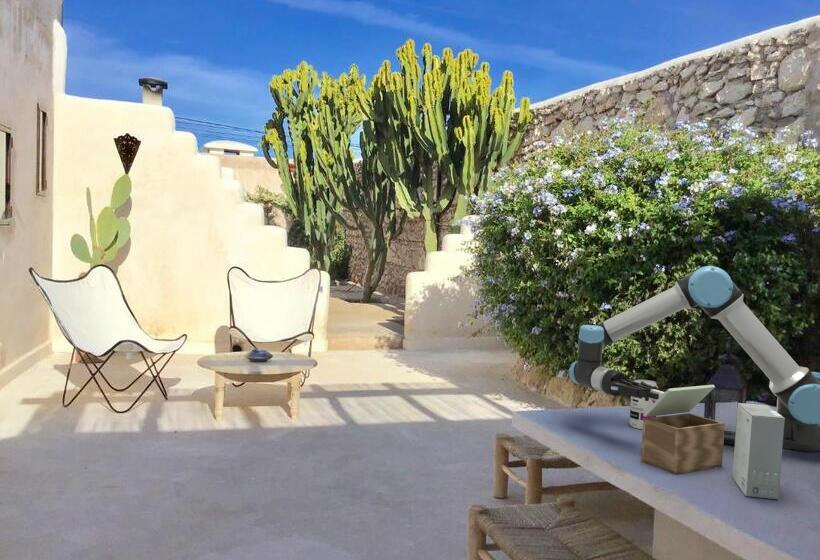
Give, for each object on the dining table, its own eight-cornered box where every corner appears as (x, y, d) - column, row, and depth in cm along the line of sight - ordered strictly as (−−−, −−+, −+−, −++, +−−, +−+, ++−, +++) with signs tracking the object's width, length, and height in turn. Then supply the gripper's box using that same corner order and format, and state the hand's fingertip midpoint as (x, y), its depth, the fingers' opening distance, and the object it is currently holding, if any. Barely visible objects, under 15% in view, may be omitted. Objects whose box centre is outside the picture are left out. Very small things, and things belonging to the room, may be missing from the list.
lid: (689, 412, 213) (687, 409, 213) (715, 386, 205) (713, 384, 206) (644, 417, 204) (643, 414, 205) (670, 391, 197) (668, 388, 197)
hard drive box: (779, 500, 178) (785, 418, 177) (745, 497, 179) (751, 415, 178) (762, 480, 193) (768, 404, 192) (731, 477, 195) (736, 401, 193)
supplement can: (658, 426, 246) (661, 381, 245) (651, 431, 239) (654, 385, 238) (633, 422, 250) (636, 378, 249) (626, 427, 243) (628, 381, 242)
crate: (685, 454, 214) (688, 413, 213) (721, 466, 204) (724, 423, 203) (640, 461, 205) (642, 418, 205) (675, 474, 195) (678, 429, 194)
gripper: (624, 392, 231) (685, 411, 210) (592, 394, 224) (651, 414, 204) (626, 368, 230) (687, 385, 209) (594, 370, 224) (653, 387, 203)
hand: (669, 399), depth 206 cm, fingers closed
